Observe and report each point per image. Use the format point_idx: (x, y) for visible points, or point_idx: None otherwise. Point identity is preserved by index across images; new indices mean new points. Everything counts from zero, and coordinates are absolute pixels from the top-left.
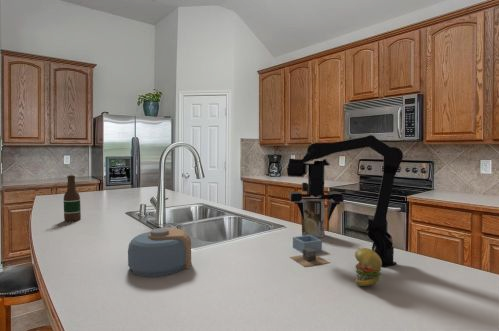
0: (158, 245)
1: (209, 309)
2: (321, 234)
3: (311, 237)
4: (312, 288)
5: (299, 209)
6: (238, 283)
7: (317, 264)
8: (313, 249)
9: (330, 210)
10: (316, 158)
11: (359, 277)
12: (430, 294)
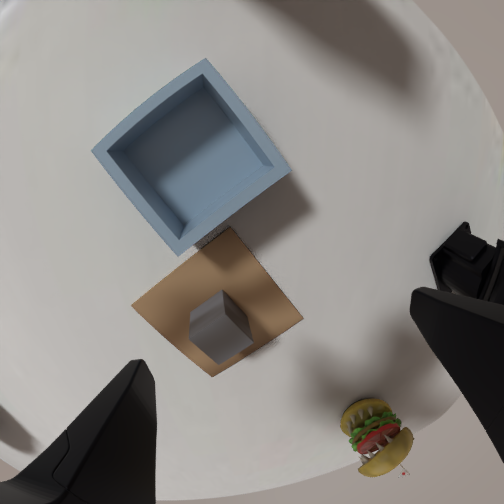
0: None
1: None
2: None
3: (217, 93)
4: (245, 450)
5: (68, 455)
6: None
7: (254, 349)
8: (241, 331)
9: (474, 406)
10: None
11: (350, 433)
12: (439, 384)
